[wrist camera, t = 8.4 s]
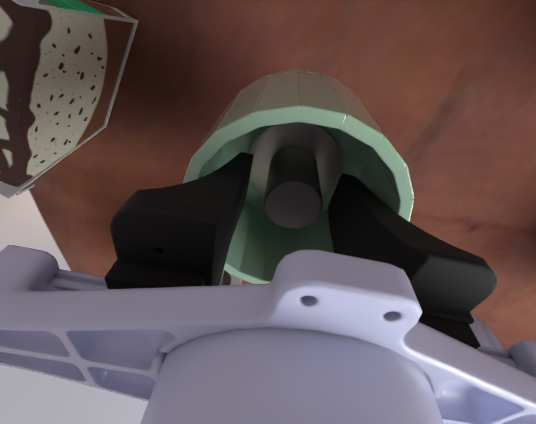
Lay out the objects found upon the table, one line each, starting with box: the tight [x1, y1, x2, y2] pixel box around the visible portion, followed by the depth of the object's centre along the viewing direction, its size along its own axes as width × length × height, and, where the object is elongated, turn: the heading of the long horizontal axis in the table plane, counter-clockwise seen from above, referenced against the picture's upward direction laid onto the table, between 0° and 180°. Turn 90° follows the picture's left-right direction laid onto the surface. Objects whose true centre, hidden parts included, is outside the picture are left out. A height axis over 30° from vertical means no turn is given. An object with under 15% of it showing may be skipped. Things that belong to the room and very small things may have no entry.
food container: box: [0, 0, 139, 198], centre depth 16 cm, size 12×6×10 cm, turn 145°
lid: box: [248, 122, 342, 228], centre depth 13 cm, size 5×5×4 cm
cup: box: [182, 70, 414, 284], centre depth 13 cm, size 9×9×6 cm
